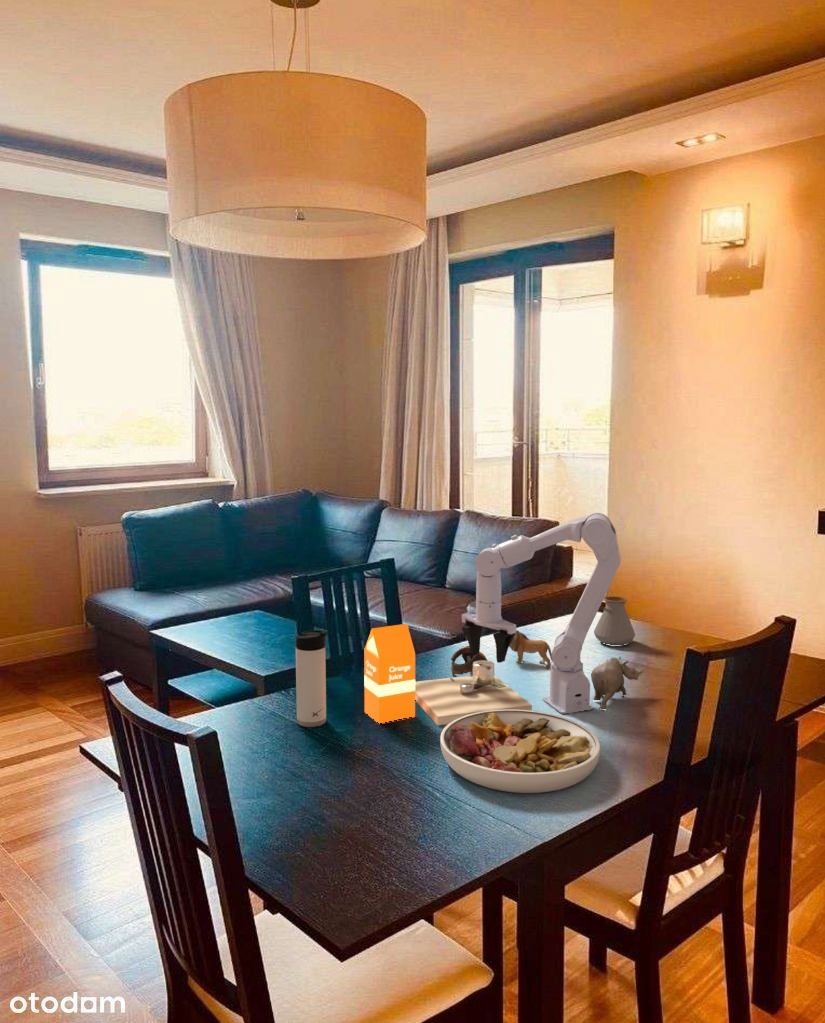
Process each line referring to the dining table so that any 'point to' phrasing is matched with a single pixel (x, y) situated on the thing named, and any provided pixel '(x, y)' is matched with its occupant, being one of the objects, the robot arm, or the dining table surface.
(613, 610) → the coffee pot
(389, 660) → the orange juice
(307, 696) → the travel mug
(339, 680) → the dining table surface
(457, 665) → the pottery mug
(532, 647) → the lion figurine
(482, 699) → the wooden board
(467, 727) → the bowl
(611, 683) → the rhino figurine
